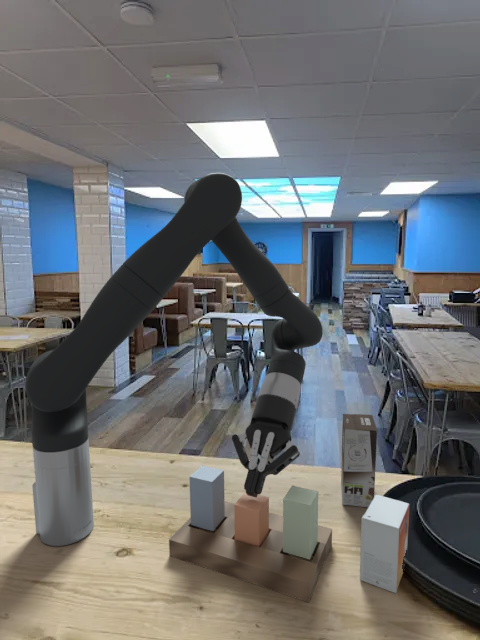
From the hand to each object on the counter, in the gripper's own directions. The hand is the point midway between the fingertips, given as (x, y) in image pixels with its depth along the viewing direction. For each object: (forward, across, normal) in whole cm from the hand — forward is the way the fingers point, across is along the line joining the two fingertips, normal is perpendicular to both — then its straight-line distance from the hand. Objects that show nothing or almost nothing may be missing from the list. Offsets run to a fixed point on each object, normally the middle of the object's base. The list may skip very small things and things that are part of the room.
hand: (251, 495), depth 73 cm
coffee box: (-10, +13, +25) cm, 30 cm away
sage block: (+5, +9, +5) cm, 11 cm away
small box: (+4, +21, +10) cm, 24 cm away
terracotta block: (+7, 0, +7) cm, 10 cm away
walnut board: (+7, 0, +7) cm, 10 cm away
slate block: (+5, -8, +5) cm, 11 cm away
